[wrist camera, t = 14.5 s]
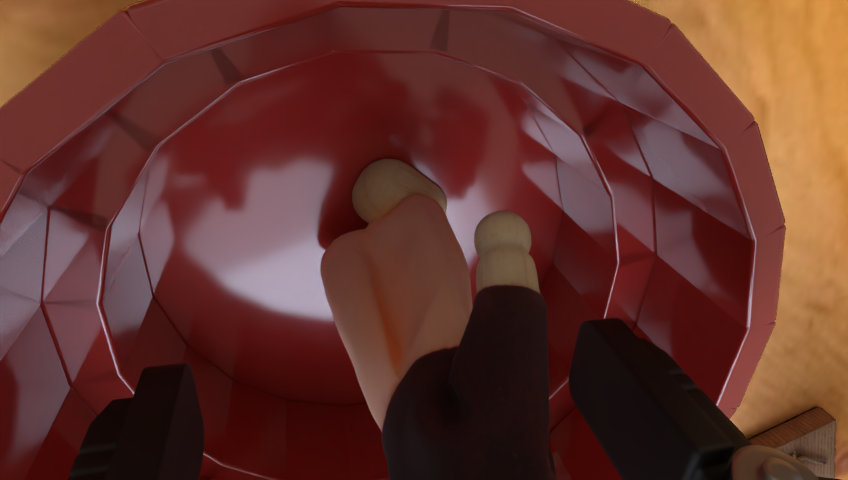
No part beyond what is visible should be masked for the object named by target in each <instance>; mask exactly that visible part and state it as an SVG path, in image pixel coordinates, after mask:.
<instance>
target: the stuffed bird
mask: <svg viewBox="0 0 848 480" xmlns="http://www.w3.org/2000/svg"><path fill="white" fill-rule="evenodd" d="M749 441H750V442H751V443H752V444H753V445H760V446H766V447H770V448H774V449H776V450H779V451H782V452H784V453H786V454H788V455H790V456H792V457H793V458H795V459H797V460H798V461H800V462H801V463H802V464H804V465H805V466H806V467H807V468H809V469H810V470H811V471H812V472H813V473H814V474H815V475H816V476H817V477H825V478H833V479H835V451H836V448H835V445H836V420H835V419H834V418H833V417H832V416H831V415H830V414H829V413H827V412H826V411H825V410H824V409H823V408H821V407H817V408H815V409H812V410H810V411H807V412H805V413H803V414H802V415H800V416H798V417H796V418H794V419H792V420H790V421H787V422H785V423H783V424H781V425H779V426H777V427H775V428H773V429H771V430H769V431H766V432H764V433H762V434H760V435H758V436H756V437H754V438H752V439H750V440H749Z"/></svg>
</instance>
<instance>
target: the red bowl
mask: <svg viewBox="0 0 848 480" xmlns="http://www.w3.org/2000/svg"><path fill="white" fill-rule="evenodd" d="M381 159H396V160H400V161H402V162H404V163H406V164H408V165H409V166H411V167H412V168H414V169H415V170H417V171H418V172H419V173H421V174H422V175H424V176H425V177H426V178H428V179H429V180H430V181H432V182H433V183H435V184H436V185H437V186H438V187H440V188H441V189H442V190H443V192H444V193H445V195H446V197H447V209H446V217H447V219H448V221H449V224H450V226H451V228H452V230H453V232H454V234H455V236H456V238H457V241H458V242H459V244H460V246H461V248H462V250H463V253H464V256H465V259H466V262H467V265H468V269H469V275H470V283H471V295H472V305H474V301H475V297H476V294H477V289H476V267H477V263H478V262H479V260H480V258H479V256H478V254H477V252H476V249H475V245H474V233H475V229H476V227H477V225H478V223H479V222H480V221H481V220H482V219H483V218H484V217H485V216H487V215H488V214H490V213H493V212H496V211H511V212H513V213H515V214H517V215H518V216H520V217H521V218H522V219H523V220H524V221H525V222H526V223H527V224H528V226H529V229H530V233H531V247H530V250H529V253H528V254H529V255H530V256H531V257H532V259H533V261H534V263H535V267H536V271H537V278H538V285H539V290H540V294H541V295H542V297H543V298H544V300H545V303H546V310H547V340H548V360H549V369H548V370H549V377H550V381H549V408H550V420H549V448H550V450H551V452H552V456H553V460H554V465H555V472H556V480H623V479H622V478H621V476H620V475H619V473H618V472H617V470H616V468H615V467H614V465H613V464H612V462H611V460H610V459H609V457H608V456H607V454H606V452H605V451H604V449H603V448H602V446H601V445H600V443H599V441H598V440H597V438H596V437H595V435H594V433H593V432H592V430H591V429H590V427H589V425H588V424H587V422H586V421H585V419H584V418H583V416H582V414H581V413H580V411H579V410H578V408H577V406H576V405H575V403H574V401H573V399H572V396H571V393H570V389H569V371H570V367H571V362H572V358H573V353H574V349H575V344H576V340H577V335H578V331H579V327H580V325H581V324H582V323H583V322H584V321H589V320H599V319H608V318H619V319H621V320H622V321H623V322H624V323H625V324H626V325H627V326H628V327H629V328H630V329H631V330H632V331H633V333H634V334H635V335H636V336H637V337H638V338H639V339H641V338H644V339H646V340H648V341H649V342H651V343H652V344H654V345H656V346H657V347H659V348H660V349H662V350H663V351H665V352H667V353H668V354H669V356H670V357H671V358H672V359H673V360H674V361H675V362H676V363H677V364H678V365H679V366H680V367H681V368H682V369H683V373H684V374H687V375H688V376H689V377H690V378H691V379H692V380H693V381H694V382H695V383H696V384H697V388H698V389H701V390H702V391H703V392H704V393H705V394H706V395H707V396H708V397H709V398H710V399H711V400H712V401H713V402H714V404H715V405H716V406H717V407H718V408H719V409H720V410H721V411H722V412H723V413H724V414H725V415H726V416H727V417H728V418H729V419H730V418H731V416H732V415H733V414H734V412H735V411H736V409H737V407H739V406H740V403H741V401H742V399H743V397H744V394H745V392H746V390H747V387H748V385H749V383H750V381H751V378H752V376H753V374H754V371H755V369H756V367H757V365H758V362H759V360H760V358H761V356H762V353H763V351H764V349H765V346H766V344H767V342H768V340H769V337H770V335H771V333H772V330H773V328H774V326H775V320H776V315H777V305H778V296H779V287H780V277H781V268H782V258H783V249H784V240H785V230H786V227H785V225H784V223H785V219H784V215H783V212H782V208H781V205H780V201H779V198H778V194H777V191H776V187H775V184H774V180H773V177H772V173H771V170H770V166H769V162H768V159H767V155H766V152H765V148H764V145H763V141H762V138H761V134H760V131H759V127H758V124H757V123H756V122H755V121H754V117H753V115H752V114H751V113H750V112H749V110H748V109H747V108H746V107H745V106H744V105H743V103H742V102H741V101H740V100H739V99H738V98H737V96H736V95H735V94H734V93H733V92H732V91H731V89H730V88H729V87H728V86H727V85H726V84H725V82H724V81H723V80H722V79H721V78H720V77H719V75H718V74H717V73H716V72H715V71H714V70H713V68H712V67H711V66H710V65H709V64H708V63H707V61H706V60H705V59H704V58H703V57H702V56H701V54H700V53H699V52H698V51H697V50H696V49H695V47H694V46H693V45H692V44H691V43H690V42H689V40H688V39H687V38H686V37H685V36H684V35H683V33H682V32H681V31H680V30H679V29H678V28H677V26H676V25H675V24H673V23H671V21H670V20H669V19H668V18H666V17H664V16H662V15H660V14H657V13H655V12H653V11H651V10H649V9H647V8H645V7H642V6H640V5H638V4H636V3H634V2H632V1H630V0H142V1H139V2H136V3H133V4H130V5H129V6H128V7H126V8H123V9H120V10H118V11H117V12H116V13H115V14H113V15H112V16H111V17H110V18H109V19H107V20H106V21H105V22H104V23H102V24H101V25H100V26H99V27H98V28H96V29H95V30H94V31H93V32H92V33H90V34H89V35H88V36H87V37H85V38H84V39H83V40H82V41H81V42H79V43H78V44H77V45H76V46H74V47H73V48H72V49H71V50H70V51H68V52H67V53H66V54H65V55H63V56H62V57H61V58H60V59H59V60H57V61H56V62H55V63H54V64H52V65H51V66H50V67H49V68H48V69H46V70H45V71H44V72H43V73H41V74H40V75H39V76H38V77H37V78H35V79H34V80H33V81H32V82H31V83H29V84H28V85H27V86H26V87H24V88H23V89H22V90H21V91H20V92H18V93H17V94H16V95H15V96H13V97H12V98H11V99H10V100H9V101H7V102H6V103H5V104H4V105H2V106H1V107H0V480H67V478H70V471H71V468H72V466H73V464H74V461H75V459H76V457H77V456H78V455H79V449H80V447H81V445H82V442H83V440H84V437H85V435H86V433H87V430H88V428H89V425H90V424H91V422H92V421H93V420H94V419H95V418H96V417H97V416H98V415H99V414H100V413H101V412H102V411H103V410H104V408H105V407H106V406H107V405H108V404H109V403H110V402H111V401H112V400H116V399H124V398H133V396H134V393H135V390H136V387H137V384H138V381H139V378H140V376H141V373H142V371H143V369H144V368H146V367H152V366H162V365H171V364H180V363H189V364H190V366H191V368H192V372H193V377H194V381H195V386H196V391H197V395H198V400H199V405H200V409H201V414H202V419H203V425H204V453H203V459H202V465H201V471H200V477H199V480H389V474H388V467H387V460H386V457H385V453H384V450H383V446H382V440H381V437H382V432H381V430H380V428H379V426H378V425H377V423H376V421H375V419H374V418H373V416H372V414H371V412H370V409H369V407H368V404H367V402H366V399H365V397H364V394H363V392H362V389H361V387H360V384H359V382H358V379H357V376H356V372H355V369H354V366H353V364H352V361H351V359H350V357H349V354H348V352H347V350H346V348H345V346H344V343H343V341H342V339H341V337H340V334H339V332H338V329H337V327H336V324H335V321H334V318H333V315H332V312H331V309H330V306H329V304H328V301H327V298H326V294H325V290H324V286H323V281H322V278H321V273H320V266H321V259H322V256H323V254H324V252H325V251H326V249H327V248H328V247H329V245H330V244H331V243H332V242H333V241H334V240H335V239H337V238H338V237H339V236H341V235H343V234H346V233H348V232H352V231H356V230H360V229H365V228H366V227H367V226H368V224H369V223H368V222H366V221H365V220H363V219H362V218H361V217H360V216H359V215H358V214H357V212H356V210H355V209H354V206H353V202H352V191H353V187H354V185H355V183H356V181H357V179H358V177H359V176H360V174H361V173H362V171H363V170H364V169H365V168H366V167H367V166H368V165H370V164H371V163H373V162H375V161H378V160H381ZM472 309H473V307H472Z"/></svg>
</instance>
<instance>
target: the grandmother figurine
mask: <svg viewBox="0 0 848 480" xmlns="http://www.w3.org/2000/svg"><path fill="white" fill-rule="evenodd" d="M352 202H353V206H354V209H355V210H356V212H357V214H358V215H359V216H360V217H361V218H362V219H363V220H365V221H366V222H368V223H369V224H368V226H367V227H366V228H365V229H360V230H356V231H352V232H348V233H346V234H343V235H341V236H339V237H338V238H337V239H335V240H334V241H333V242H332V243H331V244H330V245H329V247H328V248H327V249H326V251H325V252H324V254H323V256H322V259H321V266H320V273H321V278H322V281H323V286H324V290H325V294H326V298H327V301H328V304H329V306H330V309H331V312H332V315H333V318H334V321H335V324H336V327H337V329H338V332H339V334H340V337H341V339H342V341H343V343H344V346H345V348H346V350H347V352H348V354H349V357H350V359H351V361H352V364H353V366H354V369H355V372H356V376H357V379H358V382H359V384H360V387H361V389H362V392H363V394H364V397H365V399H366V402H367V404H368V407H369V409H370V412H371V414H372V416H373V418H374V419H375V421H376V423H377V425H378V426H379V428H380V430H381V432H382V437H381V440H382V446H383V450H384V453H385V457H386V460H387V467H388V474H389V480H556V472H555V465H554V460H553V456H552V452H551V450H550V448H549V420H550V408H549V381H550V377H549V370H548V369H549V360H548V340H547V310H546V303H545V300H544V298H543V297H542V295H541V294H540V290H539V285H538V278H537V271H536V267H535V263H534V261H533V259H532V257H531V256H530V255H529V254H528V253H529V250H530V247H531V233H530V229H529V226H528V224H527V223H526V222H525V221H524V220H523V219H522V218H521V217H520V216H518V215H517V214H515V213H513V212H511V211H496V212H493V213H490V214H488V215H487V216H485V217H484V218H483V219H482V220H481V221H480V222H479V223H478V225H477V227H476V229H475V233H474V245H475V249H476V252H477V254H478V256H479V258H480V260H479V262H478V263H477V267H476V289H477V294H476V297H475V301H474V305H472V295H471V283H470V275H469V269H468V265H467V262H466V259H465V256H464V253H463V250H462V248H461V246H460V244H459V242H458V241H457V238H456V236H455V234H454V232H453V230H452V228H451V226H450V224H449V221H448V219H447V217H446V209H447V197H446V195H445V193H444V192H443V190H442V189H441V188H440V187H438V186H437V185H436V184H435V183H433V182H432V181H430V180H429V179H428V178H426V177H425V176H424V175H422V174H421V173H419V172H418V171H417V170H415V169H414V168H412V167H411V166H409V165H408V164H406V163H404V162H402V161H400V160H396V159H381V160H378V161H375V162H373V163H371V164H370V165H368V166H367V167H366V168H365V169H364V170H363V171H362V173H361V174H360V176H359V177H358V179H357V181H356V183H355V185H354V187H353V191H352ZM472 307H473V309H472Z"/></svg>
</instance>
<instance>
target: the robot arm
mask: <svg viewBox="0 0 848 480" xmlns="http://www.w3.org/2000/svg"><path fill="white" fill-rule="evenodd" d="M569 389H570V393H571V396H572V399H573V401H574V403H575V405H576V406H577V408H578V410H579V411H580V413H581V414H582V416H583V418H584V419H585V421H586V422H587V424H588V425H589V427H590V429H591V430H592V432H593V433H594V435H595V437H596V438H597V440H598V441H599V443H600V445H601V446H602V448H603V449H604V451H605V452H606V454H607V456H608V457H609V459H610V460H611V462H612V464H613V465H614V467H615V468H616V470H617V472H618V473H619V475H620V476H621V478H622V479H623V480H840V479H833V478H825V477H817V476H816V475H815V474H814V473H813V472H812V471H811V470H810V469H809V468H807V467H806V466H805V465H804V464H802V463H801V462H800V461H798V460H797V459H795V458H793V457H792V456H790V455H788V454H786V453H784V452H782V451H779V450H776V449H774V448H770V447H766V446H760V445H753V444H752V443H751V442H750V441H749V440H748V439H747V438H746V437H745V436H744V434H743V433H742V432H741V431H740V430H739V429H738V428H737V427H736V426H735V425H734V424H733V423H732V422H731V421H730V420H729V418H728V417H727V416H726V415H725V414H724V413H723V412H722V411H721V410H720V409H719V408H718V407H717V406H716V405H715V404H714V402H713V401H712V400H711V399H710V398H709V397H708V396H707V395H706V394H705V393H704V392H703V391H702V390H701V389H698V388H697V384H696V383H695V382H694V381H693V380H692V379H691V378H690V377H689V376H688V375H687V374H684V373H683V369H682V368H681V367H680V366H679V365H678V364H677V363H676V362H675V361H674V360H673V359H672V358H671V357H670V356H669V354H668V353H667V352H665V351H663V350H662V349H660V348H659V347H657V346H656V345H654V344H652V343H651V342H649V341H648V340H646V339H644V338H641V339H639V338H638V337H637V336H636V335H635V334H634V333H633V331H632V330H631V329H630V328H629V327H628V326H627V325H626V324H625V323H624V322H623V321H622V320H621V319H619V318H608V319H599V320H589V321H584V322H583V323H582V324H581V325H580V327H579V331H578V335H577V340H576V344H575V349H574V353H573V358H572V362H571V367H570V371H569ZM203 453H204V425H203V419H202V414H201V409H200V405H199V400H198V395H197V391H196V386H195V381H194V377H193V372H192V368H191V366H190V364H189V363H180V364H171V365H162V366H152V367H146V368H144V369H143V371H142V373H141V376H140V378H139V381H138V384H137V387H136V390H135V393H134V396H133V398H124V399H116V400H112V401H111V402H110V403H109V404H108V405H107V406H106V407H105V408H104V410H103V411H102V412H101V413H100V414H99V415H98V416H97V417H96V418H95V419H94V420H93V421H92V422H91V424H90V425H89V428H88V430H87V433H86V435H85V437H84V440H83V442H82V445H81V447H80V449H79V455H78V456H77V457H76V459H75V461H74V464H73V466H72V468H71V471H70V478H67V480H199V477H200V471H201V465H202V459H203Z"/></svg>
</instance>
